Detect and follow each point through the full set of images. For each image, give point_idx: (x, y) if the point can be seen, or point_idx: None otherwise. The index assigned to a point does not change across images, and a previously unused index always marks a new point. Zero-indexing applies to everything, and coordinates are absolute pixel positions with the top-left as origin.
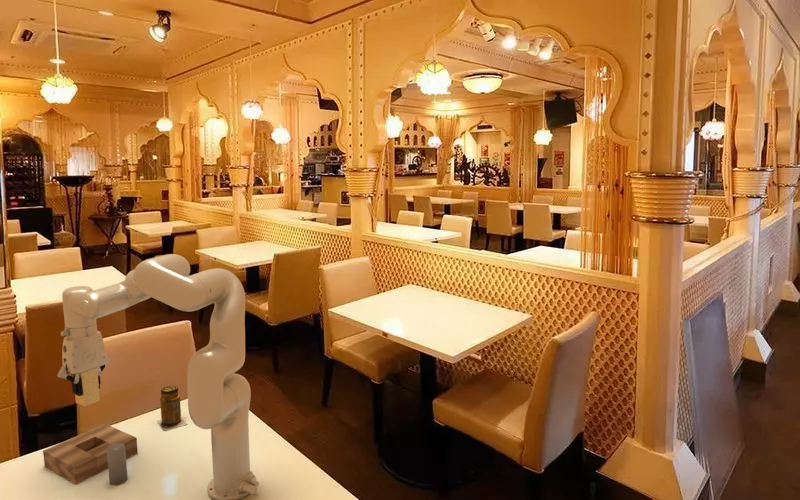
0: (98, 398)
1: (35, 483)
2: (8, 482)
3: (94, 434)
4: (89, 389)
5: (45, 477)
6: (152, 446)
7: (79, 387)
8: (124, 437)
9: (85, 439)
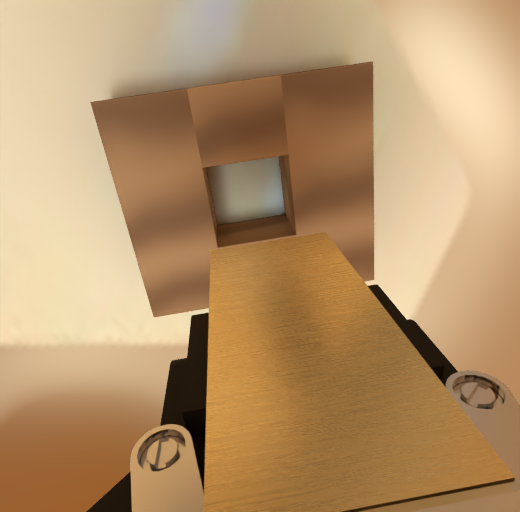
0: (220, 257)
1: (411, 181)
2: (444, 244)
3: None
4: (304, 299)
5: (380, 193)
6: (45, 101)
7: (412, 330)
8: (133, 148)
9: None
